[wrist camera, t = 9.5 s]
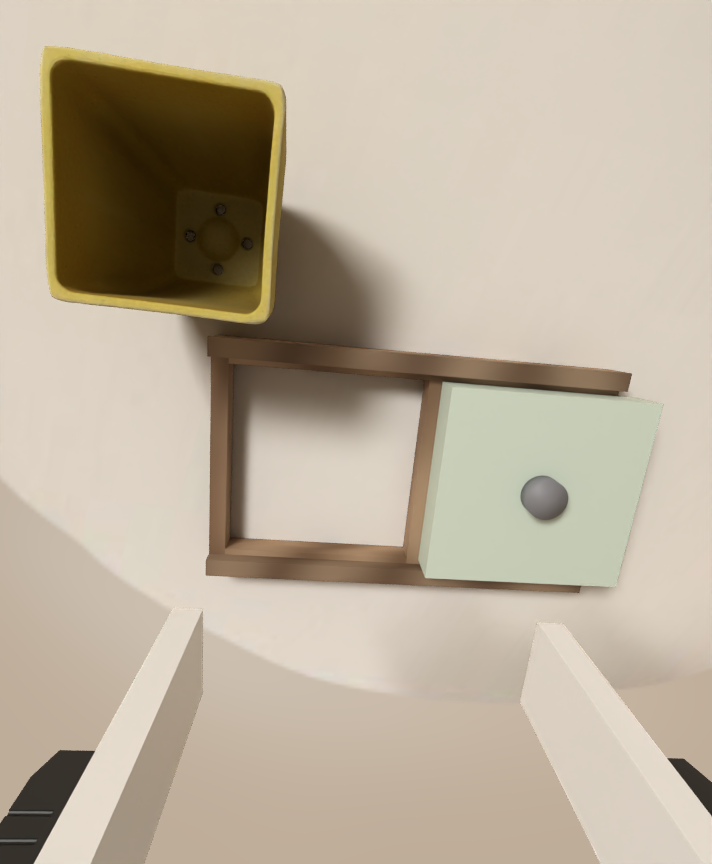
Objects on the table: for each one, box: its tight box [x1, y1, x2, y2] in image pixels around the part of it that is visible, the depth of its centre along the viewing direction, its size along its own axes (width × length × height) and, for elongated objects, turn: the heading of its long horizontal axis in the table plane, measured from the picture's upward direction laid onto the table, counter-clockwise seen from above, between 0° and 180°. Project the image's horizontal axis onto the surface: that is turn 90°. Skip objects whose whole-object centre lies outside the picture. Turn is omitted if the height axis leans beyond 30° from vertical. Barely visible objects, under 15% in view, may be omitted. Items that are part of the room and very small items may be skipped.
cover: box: [418, 382, 664, 587], centre depth 27 cm, size 12×12×3 cm
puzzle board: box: [206, 335, 632, 593], centre depth 28 cm, size 25×15×2 cm, turn 85°
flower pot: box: [40, 46, 286, 324], centre depth 21 cm, size 9×9×9 cm
